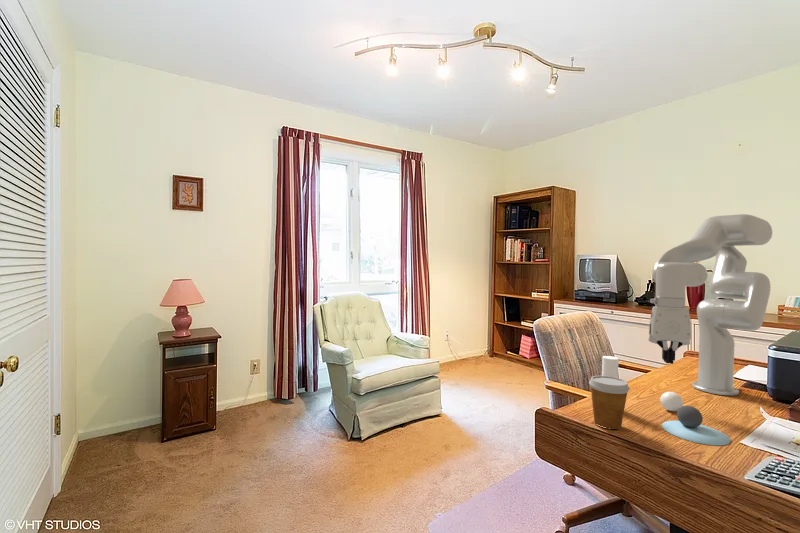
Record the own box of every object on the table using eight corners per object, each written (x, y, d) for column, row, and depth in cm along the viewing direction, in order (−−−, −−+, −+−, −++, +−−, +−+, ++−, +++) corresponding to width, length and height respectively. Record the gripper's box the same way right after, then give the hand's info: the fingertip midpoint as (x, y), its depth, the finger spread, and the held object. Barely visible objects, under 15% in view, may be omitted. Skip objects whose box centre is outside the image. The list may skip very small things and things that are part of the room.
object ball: (689, 399, 103) (695, 418, 99) (703, 408, 104) (710, 427, 100) (669, 405, 107) (675, 424, 103) (683, 415, 108) (689, 433, 104)
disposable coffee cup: (621, 420, 107) (622, 376, 107) (633, 435, 98) (635, 387, 98) (583, 416, 109) (585, 373, 109) (592, 430, 100) (594, 384, 100)
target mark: (676, 417, 110) (676, 416, 110) (739, 437, 98) (739, 436, 98) (651, 428, 102) (651, 427, 102) (716, 450, 91) (716, 449, 91)
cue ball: (672, 391, 113) (674, 411, 111) (686, 392, 114) (688, 412, 113) (654, 390, 118) (656, 409, 116) (668, 391, 119) (670, 411, 118)
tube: (619, 410, 114) (620, 359, 114) (603, 409, 115) (604, 358, 115) (614, 405, 118) (615, 356, 118) (598, 404, 119) (600, 355, 119)
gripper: (645, 303, 118) (644, 363, 119) (704, 305, 114) (702, 368, 114) (638, 300, 126) (637, 357, 126) (693, 302, 121) (692, 361, 121)
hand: (668, 362), depth 120 cm, fingers closed
